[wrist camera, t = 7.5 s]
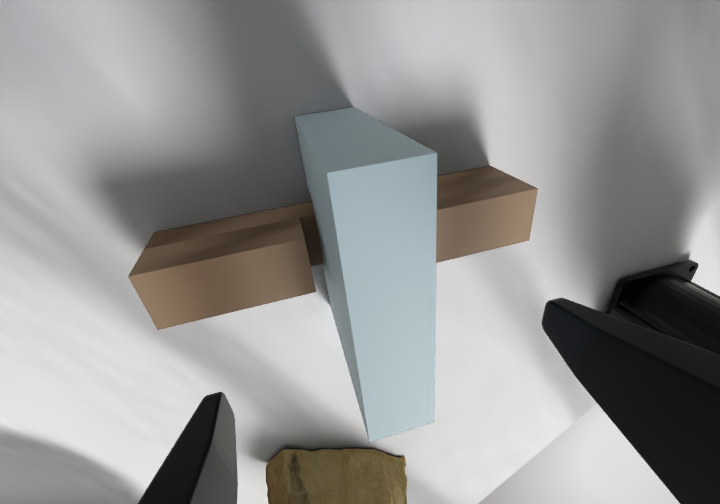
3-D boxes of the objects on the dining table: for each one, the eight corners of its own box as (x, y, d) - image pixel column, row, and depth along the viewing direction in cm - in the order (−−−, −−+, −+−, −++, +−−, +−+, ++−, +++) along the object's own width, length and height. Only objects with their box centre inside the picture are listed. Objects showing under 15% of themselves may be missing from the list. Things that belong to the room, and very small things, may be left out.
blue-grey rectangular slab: (294, 116, 14) (326, 173, 7) (353, 107, 14) (437, 152, 8) (330, 306, 19) (369, 442, 12) (373, 295, 20) (434, 421, 13)
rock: (216, 512, 22) (297, 575, 26) (286, 618, 16) (379, 678, 20) (324, 376, 28) (377, 445, 32) (408, 413, 22) (459, 493, 26)
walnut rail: (490, 165, 17) (537, 188, 14) (486, 211, 19) (529, 240, 16) (154, 232, 15) (127, 276, 12) (176, 279, 16) (157, 329, 13)
